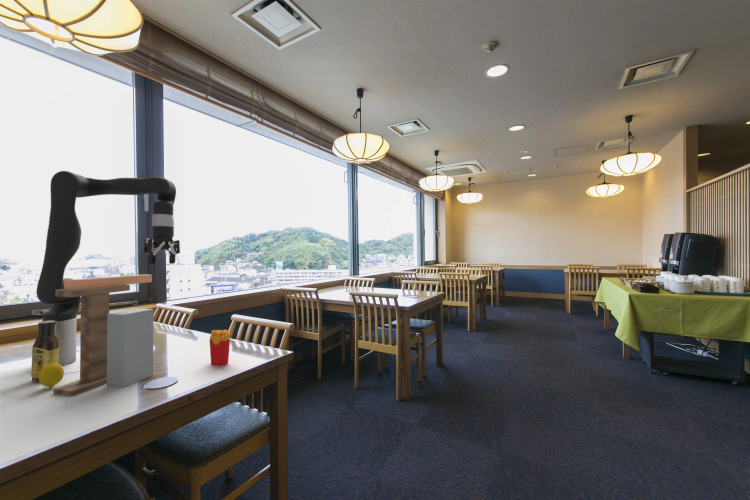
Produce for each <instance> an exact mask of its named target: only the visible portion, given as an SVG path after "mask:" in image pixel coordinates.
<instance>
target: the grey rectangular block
mask: <svg viewBox="0 0 750 500" xmlns="http://www.w3.org/2000/svg"><path fill="white" fill-rule="evenodd" d="M152 376H154V308H141V307H140V308H133V309H132V308H131V309H126V310H121V311H116V312H109V314H107V383H106V386H107V387H114V388H115V387H117V388H126V387H128V386H131V385H133V384H136V383H139V382H140V381H143V380H146V379H147V378H150V377H152Z"/></svg>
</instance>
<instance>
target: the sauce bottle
mask: <svg viewBox="0 0 750 500" xmlns="http://www.w3.org/2000/svg"><path fill="white" fill-rule="evenodd" d="M55 325H56V321H43V320H42V321H39V322H38V324H37V328H38V333H37V334H38V335H37V336H36V339H35V341H34V343H33V345H32V349H31V350H32V352H31V372H30V373H31V381H32V382H33V383H40V382H39V373H40V371H41V370H42V368H43V367H45V366H46V365H48V364H50V363H52V362H53V363H57V364H59V339H58V338H57V336H56V335H55Z"/></svg>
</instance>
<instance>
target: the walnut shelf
mask: <svg viewBox="0 0 750 500" xmlns="http://www.w3.org/2000/svg"><path fill="white" fill-rule="evenodd" d="M130 286H131V284H128V285H118V286H107V287H97V288H87V289H77V290H64V289H61V290H56V292H55V296H57V297H78V296H80V338H79V339H80V342H79V343H80V347H79V349H80V351H79V352H80V353H79V355H80V357H79V358H80V359H79V379H77V380H75V381H71V382H69V383H65V384H63V385H61V386H57V387H54V388H53V389H52V393H53V394H55V395H60V396H61V395H62V396H67V397H74V396H77V395H79V394H82V393H85V392H87V391H90V390H92V389H95V388H98V387H100V386H104V385H107V314H109V313H110V294H111V293H121V292H126V291H127V292H128V291H130V289H131V287H130Z"/></svg>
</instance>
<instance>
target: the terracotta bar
mask: <svg viewBox="0 0 750 500" xmlns="http://www.w3.org/2000/svg"><path fill="white" fill-rule="evenodd" d="M73 279H74V278H73ZM152 282H153V274H146V273H145V274H135V275H133V274H132V275H119V276H107V277H105V276H102V277H92V278H91V277H90V278H76V279H74V280H64V290H77V289H87V288H97V287H107V286H118V285H135V284H136V285H137V284H146V283H152Z"/></svg>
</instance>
